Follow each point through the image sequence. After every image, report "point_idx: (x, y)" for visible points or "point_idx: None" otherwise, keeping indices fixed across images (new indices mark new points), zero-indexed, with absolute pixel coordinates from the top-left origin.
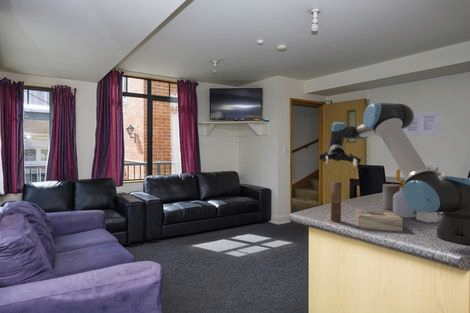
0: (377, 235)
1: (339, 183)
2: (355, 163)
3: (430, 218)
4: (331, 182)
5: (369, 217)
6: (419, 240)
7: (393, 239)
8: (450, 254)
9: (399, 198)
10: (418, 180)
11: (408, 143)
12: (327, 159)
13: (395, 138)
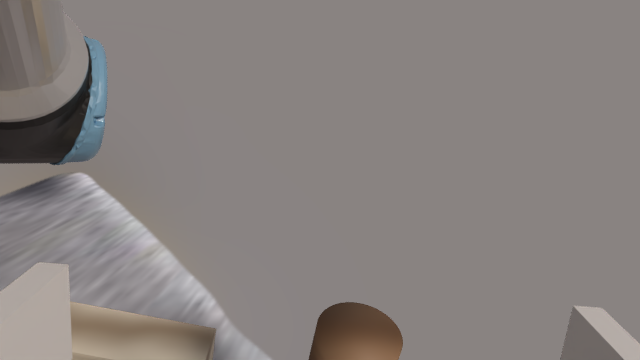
0: (186, 292)
1: (336, 306)
2: (69, 294)
3: None
4: (401, 337)
5: (173, 322)
6: (66, 250)
7: (155, 259)
8: (86, 181)
9: None
10: (83, 36)
11: None
12: (583, 316)
13: None
